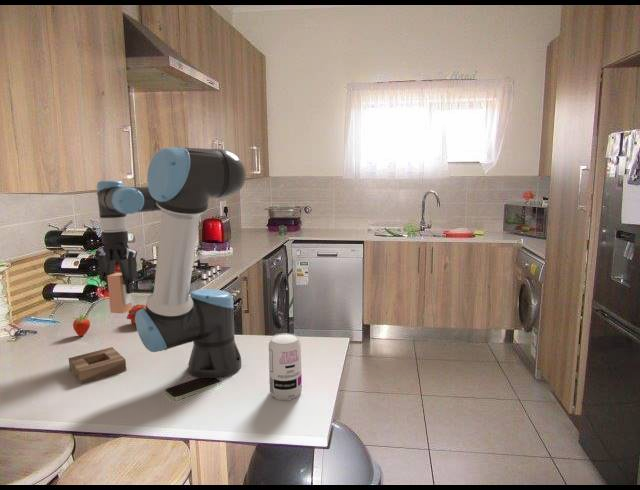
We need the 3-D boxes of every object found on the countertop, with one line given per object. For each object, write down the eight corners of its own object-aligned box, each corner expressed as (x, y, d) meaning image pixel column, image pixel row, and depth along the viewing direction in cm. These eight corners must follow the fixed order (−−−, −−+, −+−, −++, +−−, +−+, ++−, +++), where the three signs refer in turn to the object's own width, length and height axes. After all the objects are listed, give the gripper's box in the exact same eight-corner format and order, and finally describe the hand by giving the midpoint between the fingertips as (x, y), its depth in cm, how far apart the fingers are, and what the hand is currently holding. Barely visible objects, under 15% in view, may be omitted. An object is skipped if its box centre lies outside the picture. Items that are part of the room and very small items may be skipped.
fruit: (79, 333, 157) (77, 311, 155) (93, 333, 156) (91, 311, 155) (70, 338, 151) (68, 316, 150) (85, 338, 151) (83, 316, 150)
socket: (126, 370, 127) (125, 359, 126) (80, 383, 119) (79, 371, 118) (113, 357, 135) (112, 347, 135) (69, 369, 127) (68, 358, 127)
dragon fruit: (131, 325, 168) (154, 334, 164) (116, 319, 161) (141, 328, 157) (142, 305, 171) (165, 313, 167) (128, 298, 164) (152, 306, 160)
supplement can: (285, 382, 119) (284, 330, 116) (308, 392, 113) (307, 337, 111) (263, 394, 112) (261, 339, 110) (286, 405, 107) (285, 347, 105)
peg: (132, 309, 142) (129, 273, 140) (123, 313, 137) (119, 276, 135) (120, 308, 143) (116, 272, 141) (110, 312, 138) (107, 275, 136)
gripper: (146, 229, 138) (152, 300, 141) (98, 228, 141) (105, 298, 145) (131, 232, 130) (137, 307, 134) (81, 231, 134) (88, 304, 138)
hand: (120, 302), depth 140 cm, fingers closed on peg, 4 cm apart
